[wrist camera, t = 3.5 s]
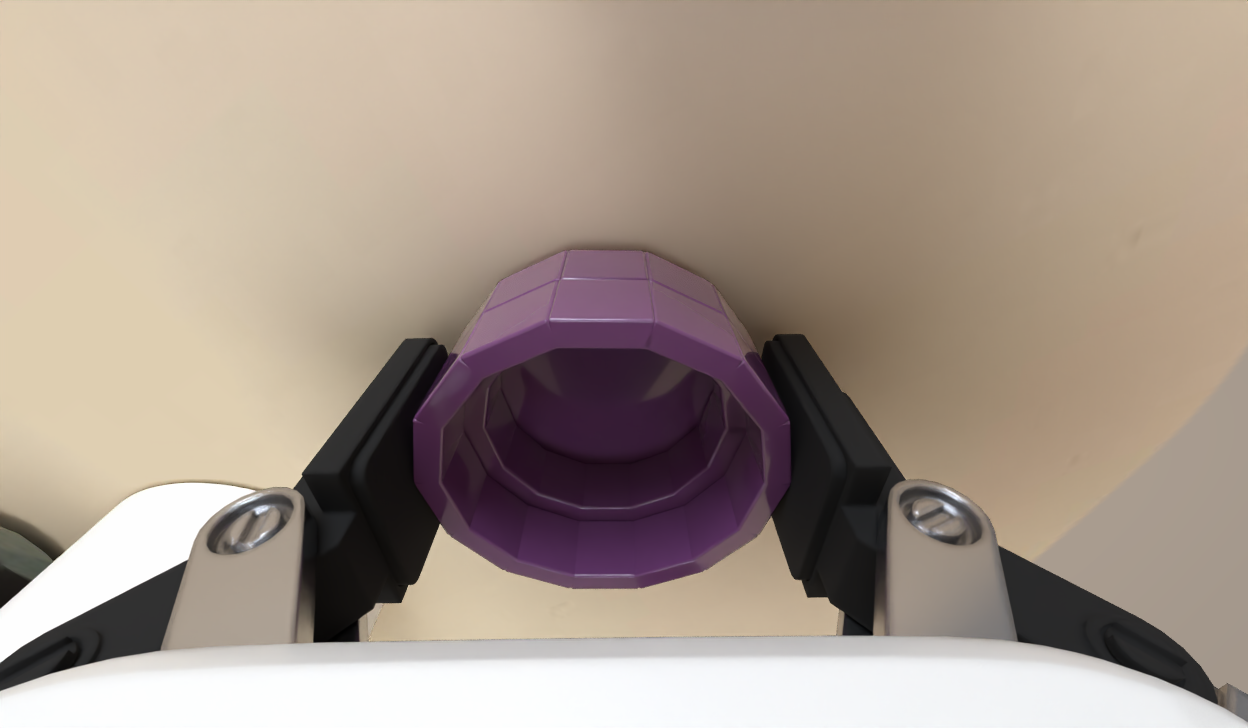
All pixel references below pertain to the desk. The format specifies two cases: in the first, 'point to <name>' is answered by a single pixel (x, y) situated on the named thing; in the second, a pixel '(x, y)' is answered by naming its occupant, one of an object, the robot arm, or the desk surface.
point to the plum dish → (603, 426)
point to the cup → (118, 558)
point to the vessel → (18, 564)
